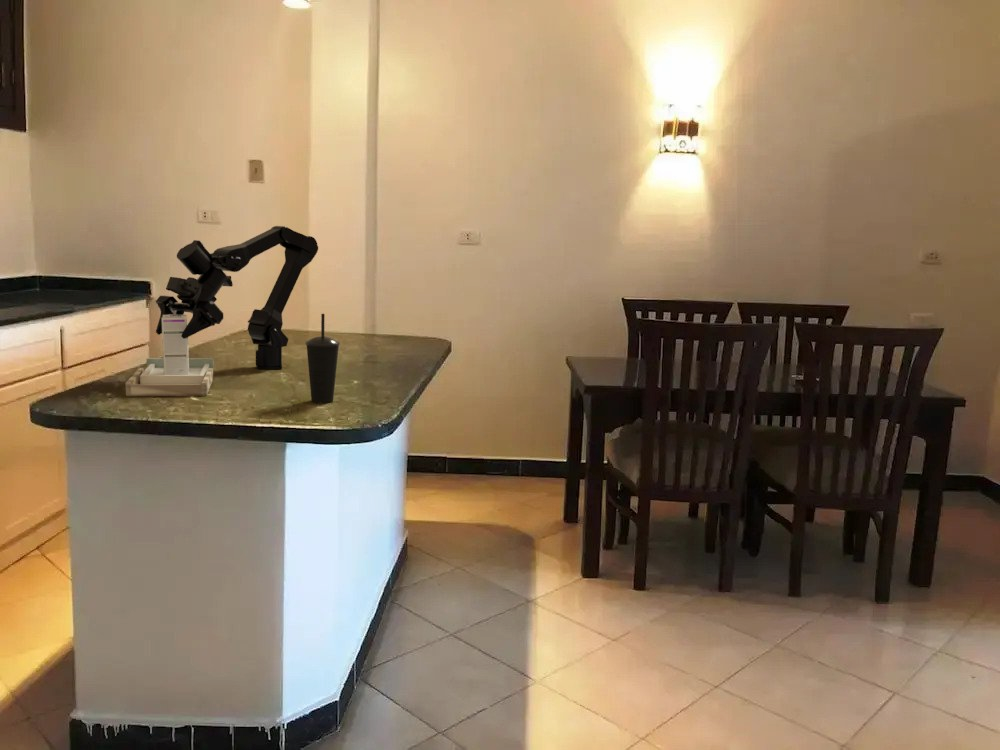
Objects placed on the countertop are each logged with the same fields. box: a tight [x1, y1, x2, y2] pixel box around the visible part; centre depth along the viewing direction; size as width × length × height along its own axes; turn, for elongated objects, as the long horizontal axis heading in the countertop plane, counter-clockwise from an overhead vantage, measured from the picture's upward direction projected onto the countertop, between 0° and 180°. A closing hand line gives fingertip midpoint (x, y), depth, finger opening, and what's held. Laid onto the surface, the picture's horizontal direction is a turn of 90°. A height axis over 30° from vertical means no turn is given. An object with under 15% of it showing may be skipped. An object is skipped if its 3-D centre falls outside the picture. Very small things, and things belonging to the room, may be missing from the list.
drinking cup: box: [305, 313, 341, 404], centre depth 186 cm, size 8×8×20 cm
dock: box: [125, 367, 214, 397], centre depth 194 cm, size 19×17×3 cm
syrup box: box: [161, 314, 190, 375], centre depth 200 cm, size 6×6×14 cm
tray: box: [140, 357, 215, 384], centre depth 203 cm, size 18×16×3 cm
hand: (169, 335), depth 198 cm, fingers open, 9 cm apart
